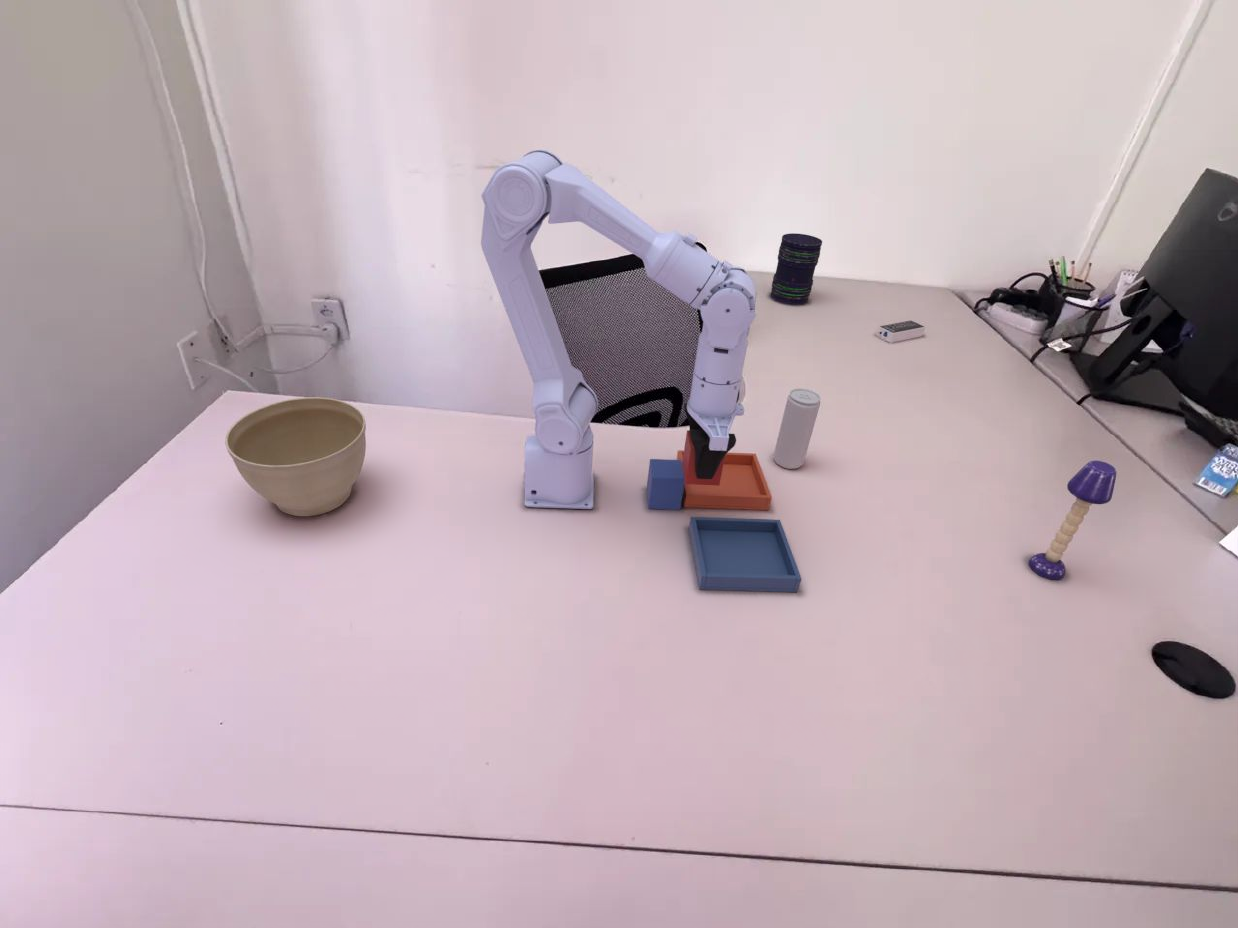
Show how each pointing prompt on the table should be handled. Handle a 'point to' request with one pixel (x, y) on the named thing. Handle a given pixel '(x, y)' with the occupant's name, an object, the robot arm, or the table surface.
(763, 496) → the orange tray
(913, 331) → the multiport hub
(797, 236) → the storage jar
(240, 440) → the planter bowl
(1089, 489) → the toy lamp
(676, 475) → the blue block
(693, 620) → the table surface
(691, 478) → the red block
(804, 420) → the beverage can
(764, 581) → the blue tray
